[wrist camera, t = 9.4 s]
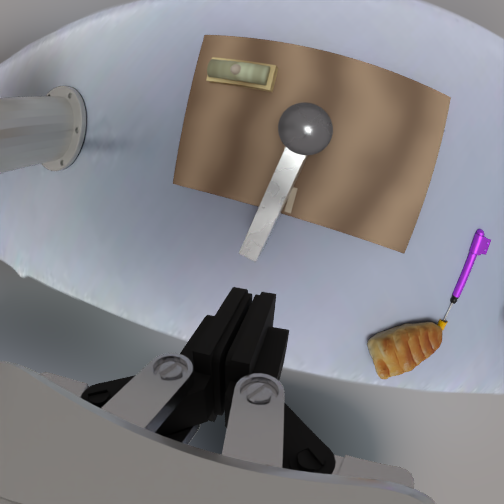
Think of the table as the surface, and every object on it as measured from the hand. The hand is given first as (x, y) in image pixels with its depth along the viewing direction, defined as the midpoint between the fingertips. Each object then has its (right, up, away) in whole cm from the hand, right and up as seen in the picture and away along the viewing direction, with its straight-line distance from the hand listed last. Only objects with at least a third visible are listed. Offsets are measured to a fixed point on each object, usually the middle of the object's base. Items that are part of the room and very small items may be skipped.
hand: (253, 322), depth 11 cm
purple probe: (+24, -2, +16) cm, 29 cm away
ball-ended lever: (+3, +9, +14) cm, 17 cm away
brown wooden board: (+5, +14, +14) cm, 21 cm away
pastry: (+18, -8, +20) cm, 28 cm away
